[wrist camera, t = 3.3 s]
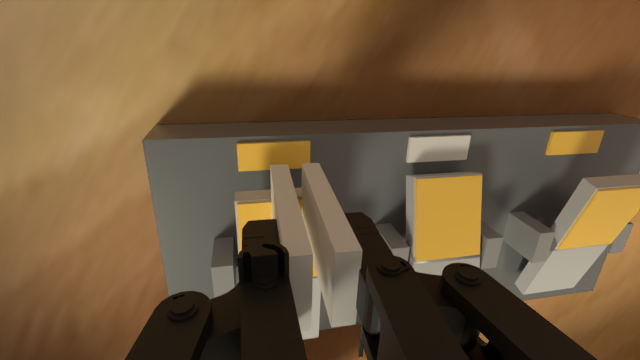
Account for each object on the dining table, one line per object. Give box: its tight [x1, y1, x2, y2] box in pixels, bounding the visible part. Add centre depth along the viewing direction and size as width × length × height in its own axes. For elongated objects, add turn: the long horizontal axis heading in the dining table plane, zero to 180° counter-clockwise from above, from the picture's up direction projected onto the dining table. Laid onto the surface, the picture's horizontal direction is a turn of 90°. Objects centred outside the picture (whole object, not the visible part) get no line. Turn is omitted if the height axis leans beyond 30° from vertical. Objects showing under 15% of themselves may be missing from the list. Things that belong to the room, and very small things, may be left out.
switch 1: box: [234, 188, 321, 340], centre depth 18 cm, size 4×9×1 cm, turn 179°
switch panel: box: [142, 113, 640, 330], centre depth 22 cm, size 30×13×6 cm, turn 89°
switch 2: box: [406, 171, 482, 276], centre depth 20 cm, size 4×9×1 cm, turn 178°
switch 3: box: [515, 174, 640, 295], centre depth 22 cm, size 4×9×1 cm, turn 179°
